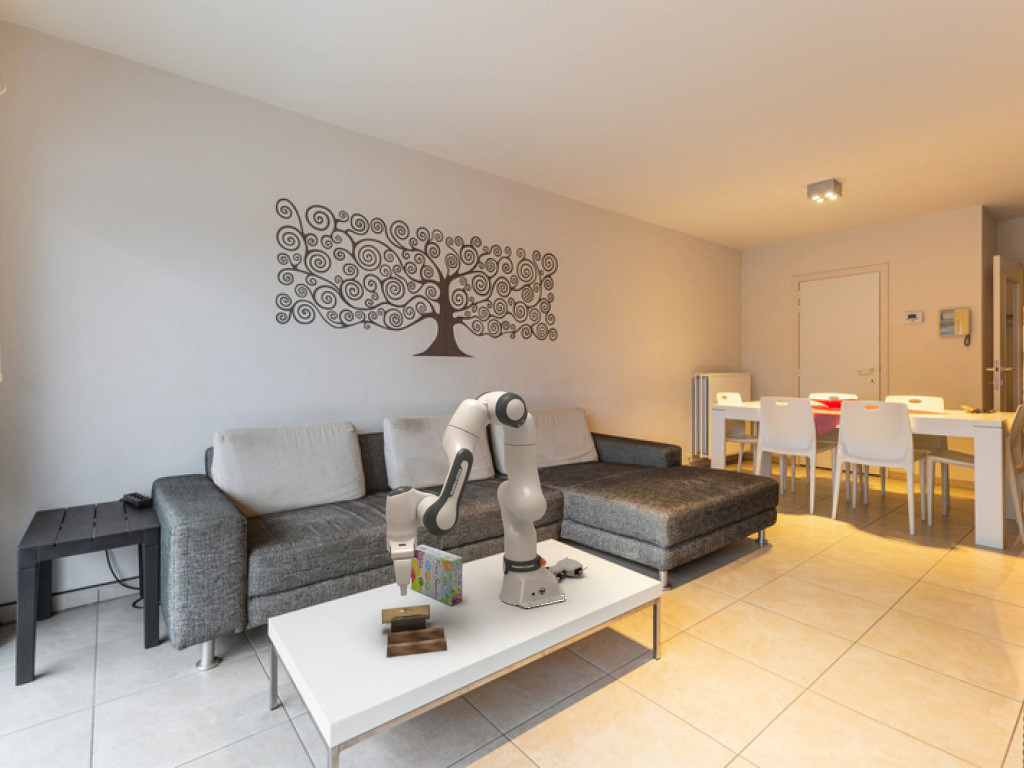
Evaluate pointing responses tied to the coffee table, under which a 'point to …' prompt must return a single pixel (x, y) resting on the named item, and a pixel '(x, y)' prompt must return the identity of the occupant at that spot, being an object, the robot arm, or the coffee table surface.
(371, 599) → the coffee table surface
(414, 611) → the brass rod
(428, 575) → the snack box
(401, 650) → the copper channel
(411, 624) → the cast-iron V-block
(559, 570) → the robot toy
